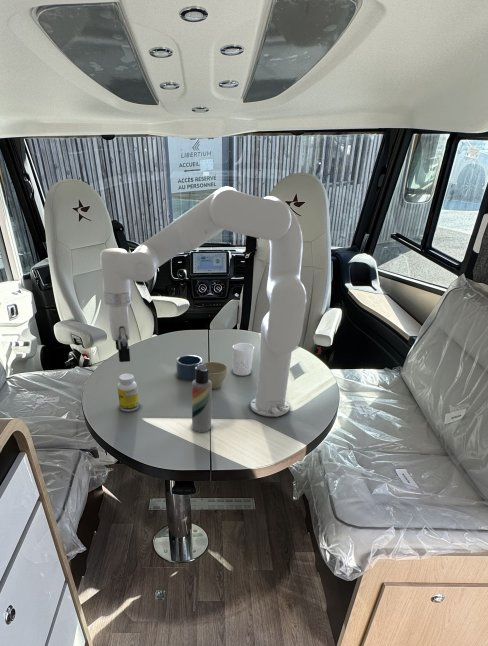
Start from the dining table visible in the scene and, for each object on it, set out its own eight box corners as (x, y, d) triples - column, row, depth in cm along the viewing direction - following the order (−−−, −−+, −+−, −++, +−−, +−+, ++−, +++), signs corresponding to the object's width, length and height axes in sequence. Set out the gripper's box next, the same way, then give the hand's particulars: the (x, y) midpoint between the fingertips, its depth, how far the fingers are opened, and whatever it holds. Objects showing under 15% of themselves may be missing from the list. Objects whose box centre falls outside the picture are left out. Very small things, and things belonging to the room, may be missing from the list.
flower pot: (211, 395, 153) (211, 375, 148) (193, 385, 159) (193, 366, 155) (232, 387, 158) (233, 368, 154) (213, 377, 164) (214, 359, 160)
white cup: (252, 376, 165) (254, 351, 159) (231, 376, 165) (233, 350, 159) (251, 368, 171) (253, 343, 165) (230, 367, 171) (232, 342, 166)
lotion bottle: (200, 421, 138) (200, 360, 127) (214, 427, 135) (216, 365, 124) (188, 428, 135) (187, 366, 123) (202, 434, 132) (203, 372, 120)
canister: (204, 379, 163) (204, 363, 160) (179, 381, 161) (179, 366, 158) (198, 369, 170) (198, 354, 167) (174, 371, 169) (174, 356, 165)
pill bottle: (118, 404, 147) (114, 374, 140) (136, 401, 149) (133, 371, 142) (122, 413, 142) (118, 382, 136) (140, 410, 144) (138, 379, 137)
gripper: (102, 289, 131) (108, 345, 141) (107, 307, 117) (113, 367, 127) (127, 288, 132) (131, 344, 142) (135, 305, 119) (139, 365, 129)
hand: (123, 355), depth 135 cm, fingers open, 9 cm apart
